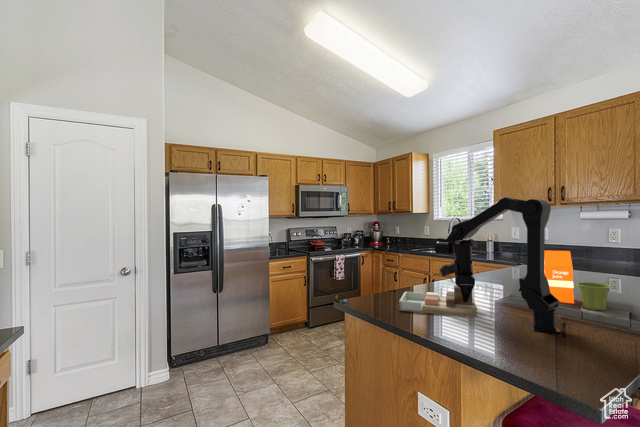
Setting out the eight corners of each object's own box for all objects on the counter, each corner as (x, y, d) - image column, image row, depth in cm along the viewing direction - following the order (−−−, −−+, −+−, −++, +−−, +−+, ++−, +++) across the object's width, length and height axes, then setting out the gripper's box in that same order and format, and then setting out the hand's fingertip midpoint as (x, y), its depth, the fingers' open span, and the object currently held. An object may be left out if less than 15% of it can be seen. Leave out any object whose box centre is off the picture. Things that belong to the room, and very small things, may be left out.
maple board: (477, 317, 105) (476, 310, 105) (422, 312, 112) (422, 305, 112) (474, 305, 119) (473, 298, 120) (425, 301, 127) (425, 295, 127)
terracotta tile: (437, 305, 112) (437, 299, 112) (424, 304, 114) (424, 298, 114) (438, 302, 116) (437, 296, 116) (425, 301, 118) (425, 295, 118)
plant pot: (572, 307, 114) (571, 283, 114) (585, 303, 118) (584, 281, 118) (603, 313, 106) (602, 288, 106) (617, 309, 110) (616, 285, 110)
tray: (421, 312, 112) (421, 302, 112) (399, 310, 115) (399, 301, 115) (424, 301, 127) (424, 292, 127) (405, 299, 130) (405, 291, 130)
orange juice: (574, 303, 119) (572, 252, 119) (546, 300, 123) (544, 251, 124) (570, 298, 125) (568, 250, 126) (544, 296, 130) (542, 249, 130)
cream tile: (438, 300, 118) (438, 295, 118) (426, 299, 120) (426, 294, 120) (438, 297, 123) (438, 292, 123) (427, 296, 124) (426, 291, 124)
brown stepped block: (473, 308, 107) (472, 291, 107) (446, 306, 110) (445, 289, 110) (471, 299, 119) (470, 284, 119) (446, 297, 122) (446, 282, 122)
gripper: (441, 253, 126) (442, 291, 125) (439, 259, 108) (440, 303, 108) (471, 254, 121) (472, 293, 121) (474, 260, 104) (475, 306, 104)
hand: (464, 299), depth 114 cm, fingers open, 9 cm apart
